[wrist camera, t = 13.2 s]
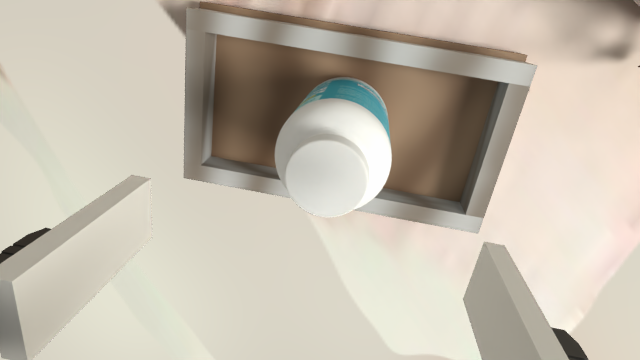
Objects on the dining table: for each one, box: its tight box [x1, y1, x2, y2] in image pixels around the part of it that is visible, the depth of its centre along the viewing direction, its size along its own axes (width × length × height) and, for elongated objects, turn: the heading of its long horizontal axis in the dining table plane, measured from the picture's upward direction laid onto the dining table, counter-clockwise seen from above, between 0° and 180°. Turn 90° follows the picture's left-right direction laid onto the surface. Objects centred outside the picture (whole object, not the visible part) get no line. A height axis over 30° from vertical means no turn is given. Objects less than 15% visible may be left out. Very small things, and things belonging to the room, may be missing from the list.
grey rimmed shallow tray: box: [184, 2, 537, 233], centre depth 34 cm, size 26×15×4 cm, turn 81°
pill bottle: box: [275, 77, 392, 217], centre depth 28 cm, size 8×7×14 cm
